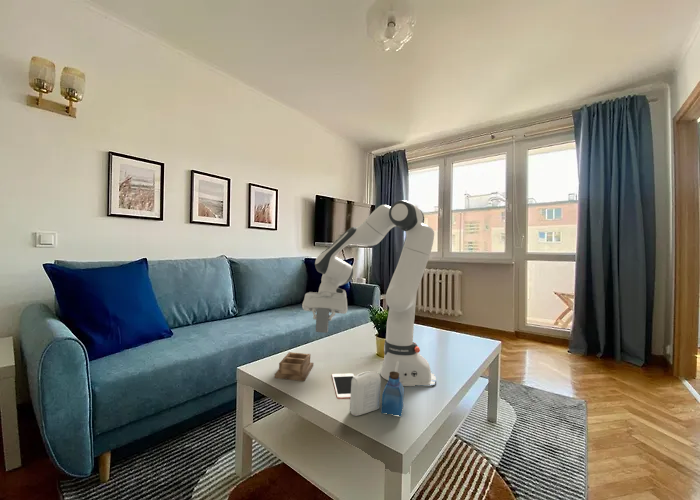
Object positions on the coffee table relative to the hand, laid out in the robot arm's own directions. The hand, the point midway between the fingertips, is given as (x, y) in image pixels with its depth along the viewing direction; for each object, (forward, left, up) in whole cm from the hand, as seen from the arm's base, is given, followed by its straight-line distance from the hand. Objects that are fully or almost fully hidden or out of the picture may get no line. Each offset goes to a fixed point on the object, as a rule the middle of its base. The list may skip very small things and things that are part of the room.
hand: (322, 319), depth 124 cm
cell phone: (-13, +14, -21) cm, 29 cm away
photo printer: (-21, +29, -21) cm, 42 cm away
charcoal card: (0, -1, -5) cm, 5 cm away
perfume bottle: (-30, +27, -21) cm, 46 cm away
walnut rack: (+9, +7, -20) cm, 23 cm away
